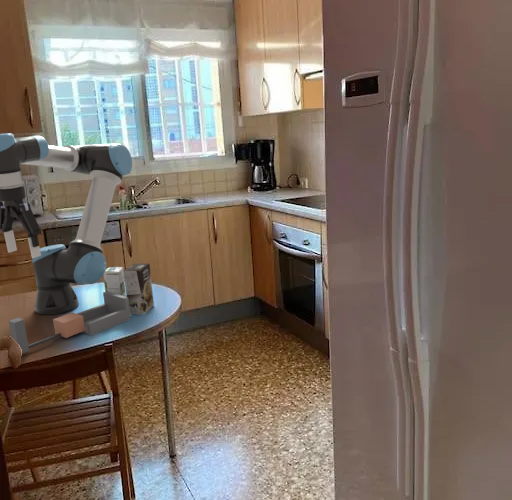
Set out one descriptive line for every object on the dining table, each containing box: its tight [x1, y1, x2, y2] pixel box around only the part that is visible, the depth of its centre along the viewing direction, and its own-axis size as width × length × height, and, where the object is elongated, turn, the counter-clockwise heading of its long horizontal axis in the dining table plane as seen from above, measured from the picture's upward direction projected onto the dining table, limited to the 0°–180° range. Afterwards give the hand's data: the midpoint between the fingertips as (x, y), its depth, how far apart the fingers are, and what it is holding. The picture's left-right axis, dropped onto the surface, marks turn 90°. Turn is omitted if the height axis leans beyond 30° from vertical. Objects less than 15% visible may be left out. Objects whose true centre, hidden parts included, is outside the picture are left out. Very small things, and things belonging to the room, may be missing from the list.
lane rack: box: [76, 291, 132, 336], centre depth 185 cm, size 12×16×8 cm
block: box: [8, 312, 85, 354], centre depth 170 cm, size 6×22×10 cm, turn 141°
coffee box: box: [123, 262, 155, 316], centre depth 194 cm, size 9×6×16 cm
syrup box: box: [103, 266, 126, 296], centre depth 199 cm, size 6×6×14 cm
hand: (24, 254), depth 171 cm, fingers open, 13 cm apart
